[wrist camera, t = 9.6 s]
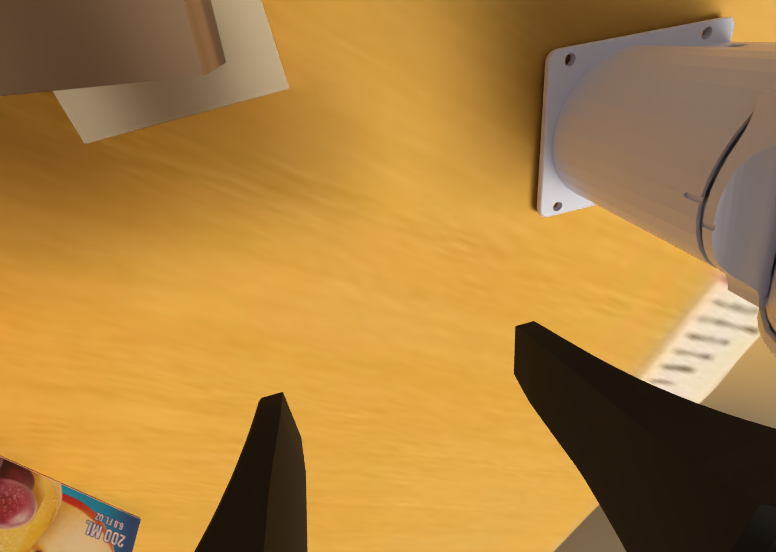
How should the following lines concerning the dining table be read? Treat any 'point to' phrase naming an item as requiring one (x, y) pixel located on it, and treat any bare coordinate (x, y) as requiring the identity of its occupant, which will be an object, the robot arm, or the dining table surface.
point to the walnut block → (104, 43)
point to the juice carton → (57, 516)
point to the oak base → (186, 81)
